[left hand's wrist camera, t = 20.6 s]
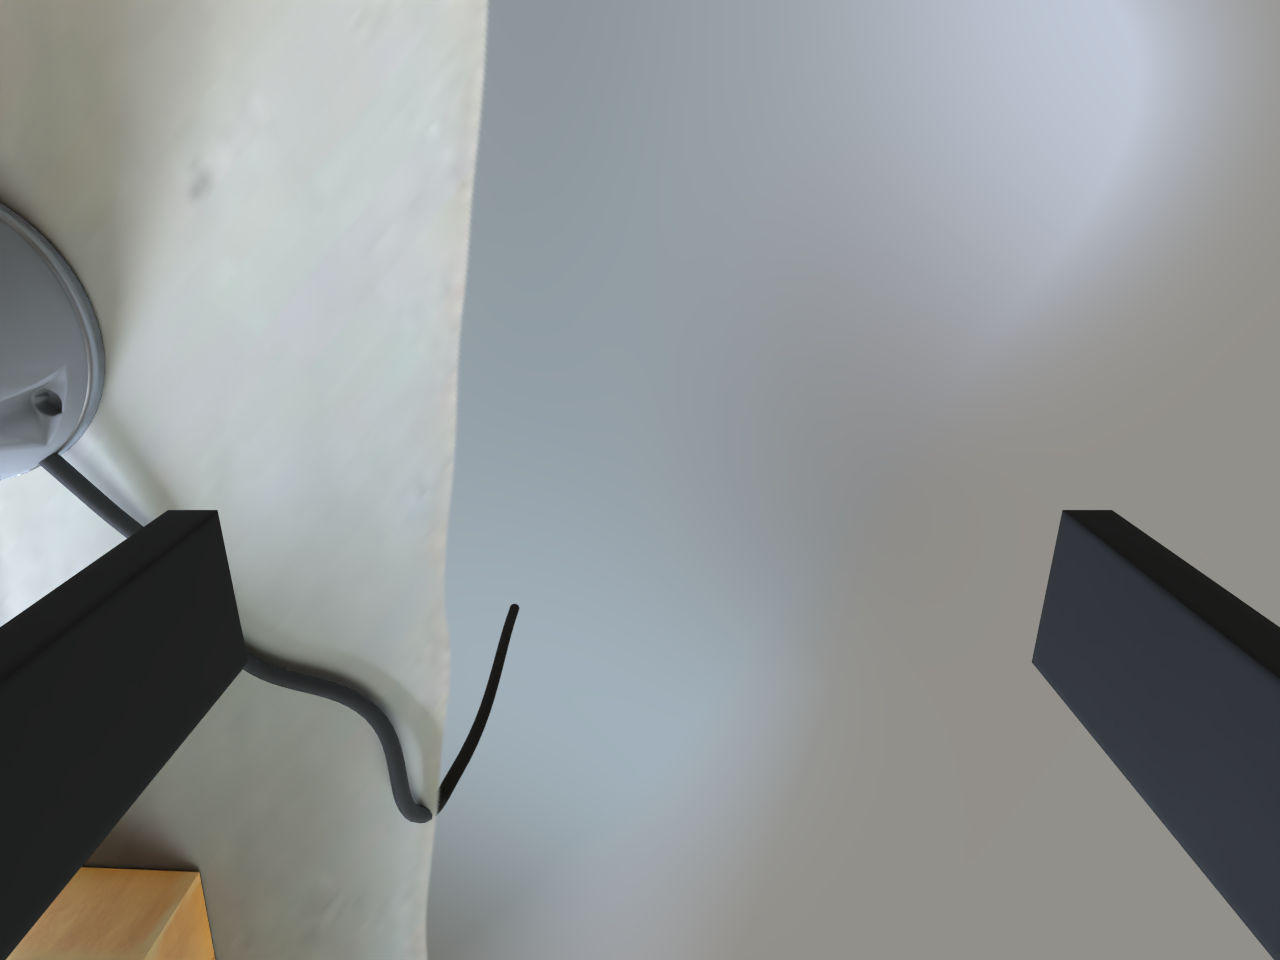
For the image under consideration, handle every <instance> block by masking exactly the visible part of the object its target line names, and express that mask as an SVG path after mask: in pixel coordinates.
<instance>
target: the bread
mask: <svg viewBox="0 0 1280 960" xmlns="http://www.w3.org/2000/svg"><path fill="white" fill-rule="evenodd" d="M6 960H215V955H214V950H213V944H212V939H211V933H210V928H209V922H208V917H207V911H206V906H205V900H204V895H203V889H202V884H201V879H200V873H199V872H183V871H159V870H135V869H111V868H87V867H81V868H80V869H79V870H78V872H77V873H76V874H75V875H74V877H73V878H72V879H71V880H70V882H69V883H68V884H67V885H66V886H65V888H64V889H63V890H62V891H61V893H60V894H59V895H58V896H57V898H56V899H55V900H54V901H53V902H52V904H51V905H50V906H49V907H48V909H47V910H46V911H45V912H44V913H43V915H42V916H41V917H40V918H39V920H38V921H37V922H36V923H35V925H34V926H33V927H32V928H31V929H30V931H29V932H28V933H27V934H26V936H25V937H24V938H23V939H22V941H21V942H20V943H19V944H18V945H17V947H16V948H15V949H14V950H13V952H12V953H11V954H10V955H9V956H8V958H7V959H6Z"/></svg>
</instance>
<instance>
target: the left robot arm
mask: <svg viewBox="0 0 1280 960" xmlns="http://www.w3.org/2000/svg"><path fill="white" fill-rule="evenodd" d="M104 373H105V367H104V351H103V343H102V339H101V334H100V330H99V326H98V323H97V320H96V317H95V314H94V311H93V309H92V307H91V304H90V302H89V300H88V298H87V296H86V294H85V292H84V290H83V288H82V286H81V284H80V283H79V281H78V279H77V278H76V276H75V275H74V273H73V271H72V270H71V269H70V267H69V266H68V264H67V263H66V262H65V260H64V259H63V258H62V256H61V255H60V254H59V253H58V252H57V251H56V249H55V248H54V247H53V246H52V245H51V244H50V243H49V242H48V241H47V240H46V239H45V238H44V237H43V236H42V235H41V234H40V233H39V232H38V231H37V230H36V229H35V228H34V227H32V226H31V225H30V224H29V223H28V222H27V221H25V220H24V219H23V218H22V217H20V216H19V215H17V214H16V213H15V212H13V211H12V210H11V209H9V208H8V207H6V206H4V205H3V204H1V203H0V480H4V479H8V478H11V477H15V476H18V475H21V474H24V473H26V472H28V471H31V470H33V469H35V468H37V467H39V466H42V467H43V468H44V469H45V470H47V471H48V472H49V473H50V474H51V475H52V476H54V477H55V478H56V479H57V480H58V481H59V482H60V483H62V484H63V485H64V486H65V487H66V488H67V489H69V490H70V491H71V492H72V493H73V494H74V495H75V496H77V497H78V498H79V499H80V500H81V501H82V502H84V503H85V504H86V505H87V506H88V507H89V508H91V509H92V510H93V511H94V512H95V513H96V514H98V515H99V516H100V517H101V518H102V519H104V520H105V521H106V522H107V523H108V524H110V525H111V526H112V527H114V528H115V529H116V530H117V531H119V532H120V533H121V534H122V535H124V536H125V537H126V538H128V539H126V540H125V541H123V542H122V543H120V544H119V545H117V546H116V547H115V548H113V549H112V550H110V551H109V552H107V553H106V554H105V555H103V556H102V557H100V558H99V559H97V560H96V561H95V562H93V563H92V564H90V565H89V566H87V567H86V568H85V569H83V570H82V571H80V572H79V573H77V574H76V575H75V576H73V577H72V578H70V579H69V580H67V581H66V582H64V583H63V584H62V585H60V586H59V587H57V588H56V589H54V590H53V591H52V592H50V593H49V594H47V595H46V596H44V597H43V598H42V599H40V600H39V601H37V602H36V603H34V604H33V605H32V606H30V607H29V608H27V609H26V610H24V611H23V612H22V613H20V614H19V615H17V616H16V617H14V618H13V619H11V620H10V621H9V622H7V623H6V624H4V625H3V626H1V627H0V960H6V959H7V958H8V956H9V955H10V954H11V953H12V952H13V950H14V949H15V948H16V947H17V945H18V944H19V943H20V942H21V941H22V939H23V938H24V937H25V936H26V934H27V933H28V932H29V931H30V929H31V928H32V927H33V926H34V925H35V923H36V922H37V921H38V920H39V918H40V917H41V916H42V915H43V913H44V912H45V911H46V910H47V909H48V907H49V906H50V905H51V904H52V902H53V901H54V900H55V899H56V898H57V896H58V895H59V894H60V893H61V891H62V890H63V889H64V888H65V886H66V885H67V884H68V883H69V882H70V880H71V879H72V878H73V877H74V875H75V874H76V873H77V872H78V870H79V869H80V868H81V867H82V866H83V864H84V863H85V862H86V861H87V859H88V858H89V857H90V856H91V855H92V853H93V852H94V851H95V850H96V848H97V847H98V846H99V845H100V843H101V842H102V841H103V840H104V839H105V837H106V836H107V835H108V834H109V832H110V831H111V830H112V829H113V828H114V826H115V825H116V824H117V823H118V821H119V820H120V819H121V818H122V816H123V815H124V814H125V813H126V812H127V810H128V809H129V808H130V807H131V805H132V804H133V803H134V802H135V800H136V799H137V798H138V797H139V796H140V794H141V793H142V792H143V791H144V789H145V788H146V787H147V786H148V785H149V783H150V782H151V781H152V780H153V778H154V777H155V776H156V775H157V773H158V772H159V771H160V770H161V769H162V767H163V766H164V765H165V764H166V762H167V761H168V760H169V759H170V757H171V756H172V755H173V754H174V753H175V751H176V750H177V749H178V748H179V746H180V745H181V744H182V743H183V742H184V740H185V739H186V738H187V737H188V735H189V734H190V733H191V732H192V730H193V729H194V728H195V727H196V726H197V724H198V723H199V722H200V721H201V719H202V718H203V717H204V716H205V714H206V713H207V712H208V711H209V710H210V708H211V707H212V706H213V705H214V703H215V702H216V701H217V700H218V699H219V697H220V696H221V695H222V694H223V692H224V691H225V690H226V689H227V687H228V686H229V685H230V684H231V683H232V681H233V680H234V679H235V678H236V676H237V675H238V674H239V673H240V671H241V670H242V669H243V670H245V671H246V672H248V673H250V674H252V675H254V676H256V677H258V678H260V679H262V680H265V681H267V682H270V683H272V684H275V685H279V686H282V687H285V688H289V689H293V690H297V691H301V692H305V693H309V694H313V695H317V696H321V697H325V698H328V699H331V700H334V701H336V702H339V703H341V704H343V705H345V706H348V707H349V708H351V709H352V710H354V711H356V712H357V713H358V714H360V715H361V716H362V717H363V718H365V719H366V720H367V722H368V723H369V724H370V725H371V726H372V727H373V729H374V730H375V732H376V733H377V735H378V737H379V739H380V741H381V744H382V746H383V749H384V752H385V756H386V760H387V764H388V770H389V775H390V781H391V786H392V791H393V795H394V799H395V802H396V804H397V807H398V809H399V810H400V812H401V813H402V814H403V816H404V817H405V818H406V819H408V820H410V821H411V822H416V823H425V822H428V821H429V820H431V819H432V813H431V812H430V810H428V809H427V808H425V807H420V806H418V805H417V804H415V803H414V801H413V799H412V796H411V793H410V789H409V784H408V779H407V773H406V767H405V762H404V757H403V753H402V749H401V745H400V742H399V739H398V737H397V734H396V732H395V730H394V728H393V726H392V724H391V723H390V721H389V720H388V718H387V717H386V715H385V714H384V713H383V712H382V711H381V710H380V709H379V708H378V707H377V706H376V705H375V704H374V703H372V702H371V701H370V700H369V699H368V698H366V697H364V696H363V695H361V694H359V693H358V692H356V691H354V690H352V689H350V688H348V687H345V686H343V685H340V684H337V683H334V682H331V681H327V680H324V679H320V678H316V677H312V676H308V675H303V674H299V673H296V672H292V671H288V670H285V669H282V668H279V667H276V666H274V665H271V664H269V663H267V662H265V661H263V660H261V659H259V658H257V657H256V656H254V655H253V654H251V653H250V652H248V651H247V650H246V649H245V644H244V639H243V634H242V629H241V624H240V619H239V614H238V609H237V605H236V600H235V595H234V590H233V585H232V580H231V575H230V570H229V565H228V560H227V555H226V550H225V545H224V540H223V535H222V531H221V526H220V521H219V516H218V511H217V510H168V511H166V512H165V513H163V514H162V515H160V516H159V517H158V518H156V519H155V520H153V521H152V522H150V523H149V524H148V525H146V526H145V527H143V526H142V525H140V524H139V523H138V522H137V521H135V520H134V519H133V518H132V517H130V516H129V515H128V514H127V513H125V512H124V511H123V510H122V509H121V508H119V507H118V506H117V505H116V504H115V503H114V502H112V501H111V500H110V499H109V498H108V497H107V496H105V495H104V494H103V493H102V492H101V491H100V490H99V489H97V488H96V487H95V486H94V485H93V484H92V483H91V482H90V481H88V480H87V479H86V478H85V477H84V476H83V475H82V474H80V473H79V472H78V471H77V470H76V469H75V468H74V467H73V466H71V465H70V464H69V463H68V462H67V461H66V460H65V459H63V458H62V457H61V456H60V455H61V454H63V453H64V452H66V451H67V450H68V449H69V448H70V447H72V446H73V445H74V444H75V443H76V442H77V441H78V440H79V438H80V437H81V436H82V435H83V434H84V432H85V431H86V429H87V428H88V426H89V425H90V423H91V422H92V419H93V417H94V415H95V413H96V411H97V408H98V405H99V402H100V399H101V395H102V390H103V384H104ZM518 612H519V606H518V605H517V604H512V605H511V606H510V608H509V611H508V614H507V617H506V620H505V623H504V626H503V630H502V633H501V637H500V640H499V644H498V647H497V651H496V654H495V658H494V662H493V666H492V669H491V673H490V676H489V680H488V683H487V686H486V690H485V693H484V696H483V699H482V702H481V705H480V707H479V710H478V713H477V715H476V718H475V720H474V723H473V725H472V727H471V730H470V732H469V734H468V736H467V738H466V740H465V742H464V744H463V746H462V748H461V750H460V752H459V754H458V756H457V757H456V759H455V761H454V762H453V764H452V766H451V768H450V769H449V771H448V773H447V774H446V776H445V778H444V779H443V781H442V783H441V785H440V786H439V790H438V792H439V793H438V801H437V802H438V804H437V812H436V813H437V814H436V816H437V815H438V814H439V813H440V811H441V810H442V809H443V808H444V806H445V805H446V803H447V801H448V800H449V798H450V796H451V794H452V792H453V791H454V789H455V787H456V785H457V783H458V781H459V780H460V778H461V776H462V774H463V772H464V771H465V769H466V767H467V765H468V763H469V762H470V759H471V757H472V755H473V753H474V751H475V749H476V747H477V745H478V743H479V740H480V738H481V736H482V733H483V731H484V728H485V726H486V723H487V720H488V717H489V715H490V712H491V709H492V705H493V702H494V699H495V696H496V692H497V688H498V685H499V681H500V677H501V674H502V670H503V666H504V662H505V658H506V654H507V650H508V646H509V642H510V638H511V634H512V631H513V627H514V624H515V621H516V618H517V615H518ZM1032 663H1033V664H1034V665H1035V667H1036V668H1037V669H1038V670H1039V671H1040V673H1041V674H1042V675H1043V676H1044V678H1045V679H1046V680H1047V681H1048V682H1049V684H1050V685H1051V686H1052V687H1053V689H1054V690H1055V691H1056V692H1057V694H1058V695H1059V696H1060V697H1061V699H1062V700H1063V701H1064V702H1065V703H1066V705H1067V706H1068V707H1069V708H1070V710H1071V711H1072V712H1073V713H1074V714H1075V716H1076V717H1077V718H1078V719H1079V721H1080V722H1081V723H1082V724H1083V725H1084V727H1085V728H1086V729H1087V730H1088V732H1089V733H1090V734H1091V735H1092V737H1093V738H1094V739H1095V740H1096V741H1097V743H1098V744H1099V745H1100V746H1101V748H1102V749H1103V750H1104V751H1105V753H1106V754H1107V755H1108V756H1109V757H1110V759H1111V760H1112V761H1113V762H1114V764H1115V765H1116V766H1117V767H1118V768H1119V770H1120V771H1121V772H1122V773H1123V775H1124V776H1125V777H1126V778H1127V780H1128V781H1129V782H1130V783H1131V784H1132V786H1133V787H1134V788H1135V789H1136V791H1137V792H1138V793H1139V794H1140V796H1141V797H1142V798H1143V799H1144V800H1145V802H1146V803H1147V804H1148V805H1149V807H1150V808H1151V809H1152V810H1153V812H1154V813H1155V814H1156V815H1157V816H1158V818H1159V819H1160V820H1161V821H1162V823H1163V824H1164V825H1165V826H1166V827H1167V829H1168V830H1169V831H1170V832H1171V834H1172V835H1173V836H1174V837H1175V839H1176V840H1177V841H1178V842H1179V843H1180V845H1181V846H1182V847H1183V848H1184V850H1185V851H1186V852H1187V853H1188V855H1189V856H1190V857H1191V858H1192V859H1193V861H1194V862H1195V863H1196V864H1197V866H1198V867H1199V868H1200V869H1201V870H1202V872H1203V873H1204V874H1205V875H1206V877H1207V878H1208V879H1209V880H1210V881H1211V883H1212V884H1213V885H1214V886H1215V888H1216V889H1217V890H1218V891H1219V893H1220V894H1221V895H1222V896H1223V897H1224V899H1225V900H1226V901H1227V902H1228V904H1229V905H1230V906H1231V907H1232V909H1233V910H1234V911H1235V912H1236V913H1237V915H1238V916H1239V917H1240V918H1241V920H1242V921H1243V922H1244V923H1245V925H1246V926H1247V927H1248V928H1249V929H1250V931H1251V932H1252V933H1253V934H1254V936H1255V937H1256V938H1257V939H1258V940H1259V942H1260V943H1261V944H1262V945H1263V947H1264V948H1265V949H1266V950H1267V952H1268V953H1269V954H1270V955H1271V956H1272V958H1273V959H1274V960H1280V627H1278V626H1277V625H1276V624H1274V623H1273V622H1271V621H1270V620H1268V619H1267V618H1266V617H1264V616H1263V615H1261V614H1260V613H1258V612H1257V611H1256V610H1254V609H1253V608H1251V607H1250V606H1248V605H1247V604H1246V603H1244V602H1243V601H1241V600H1240V599H1238V598H1237V597H1236V596H1234V595H1233V594H1231V593H1230V592H1228V591H1227V590H1226V589H1224V588H1223V587H1221V586H1220V585H1218V584H1217V583H1215V582H1214V581H1213V580H1211V579H1210V578H1208V577H1207V576H1205V575H1204V574H1203V573H1201V572H1200V571H1198V570H1197V569H1195V568H1194V567H1193V566H1191V565H1190V564H1188V563H1187V562H1185V561H1184V560H1183V559H1181V558H1180V557H1178V556H1177V555H1175V554H1174V553H1172V552H1171V551H1170V550H1168V549H1167V548H1165V547H1164V546H1162V545H1161V544H1160V543H1158V542H1157V541H1155V540H1154V539H1152V538H1151V537H1150V536H1148V535H1147V534H1145V533H1144V532H1142V531H1141V530H1140V529H1138V528H1137V527H1135V526H1134V525H1132V524H1131V523H1130V522H1128V521H1127V520H1125V519H1124V518H1122V517H1121V516H1120V515H1118V514H1117V513H1115V512H1114V511H1112V510H1063V511H1062V516H1061V521H1060V526H1059V531H1058V536H1057V540H1056V546H1055V550H1054V555H1053V560H1052V565H1051V570H1050V575H1049V580H1048V585H1047V590H1046V595H1045V600H1044V605H1043V609H1042V614H1041V619H1040V624H1039V629H1038V634H1037V639H1036V644H1035V649H1034V654H1033V659H1032Z"/></svg>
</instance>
